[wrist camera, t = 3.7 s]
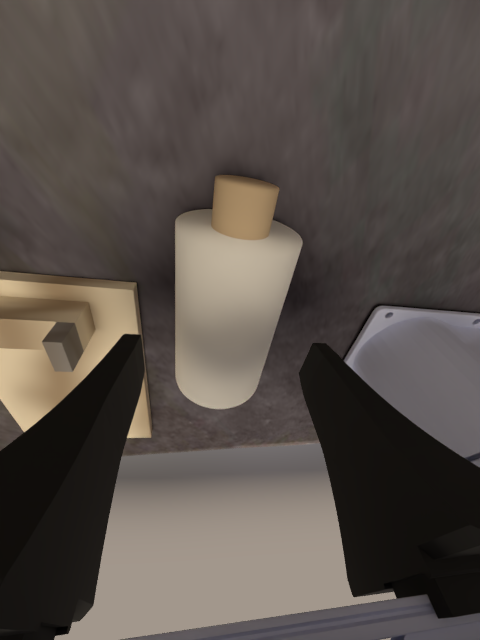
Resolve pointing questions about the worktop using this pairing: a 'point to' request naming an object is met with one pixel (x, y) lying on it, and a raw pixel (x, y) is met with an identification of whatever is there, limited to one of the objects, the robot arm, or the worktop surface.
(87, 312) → the cradle
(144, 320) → the worktop surface
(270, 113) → the worktop surface
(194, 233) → the white cylinder with cap
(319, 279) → the worktop surface
